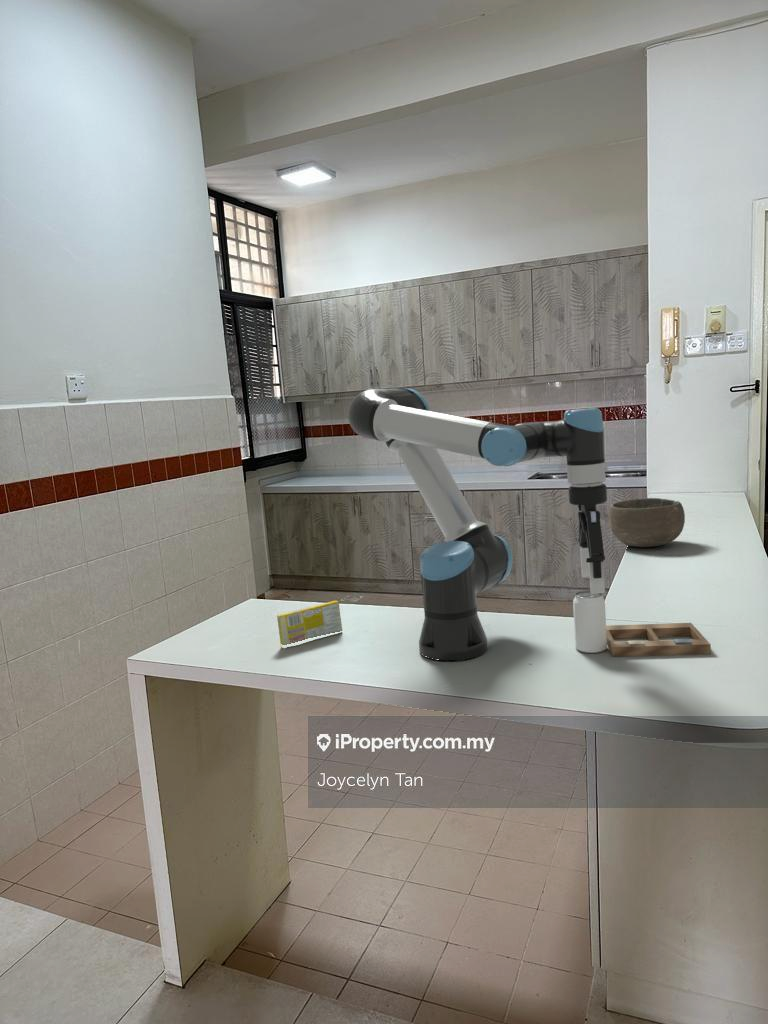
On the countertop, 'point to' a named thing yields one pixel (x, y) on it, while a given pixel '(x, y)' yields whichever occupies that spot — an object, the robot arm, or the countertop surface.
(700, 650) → the socket board
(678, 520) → the bowl
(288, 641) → the candy box
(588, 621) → the can
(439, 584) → the robot arm
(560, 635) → the countertop surface
